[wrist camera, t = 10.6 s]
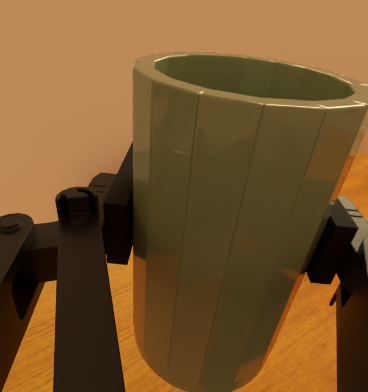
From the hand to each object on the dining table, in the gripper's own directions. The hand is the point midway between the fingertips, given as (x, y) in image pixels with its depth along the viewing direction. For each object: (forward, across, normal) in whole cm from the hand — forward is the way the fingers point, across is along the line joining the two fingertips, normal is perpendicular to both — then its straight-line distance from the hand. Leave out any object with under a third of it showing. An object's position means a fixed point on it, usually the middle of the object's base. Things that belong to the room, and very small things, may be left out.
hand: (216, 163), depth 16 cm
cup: (-5, 0, -6) cm, 8 cm away
